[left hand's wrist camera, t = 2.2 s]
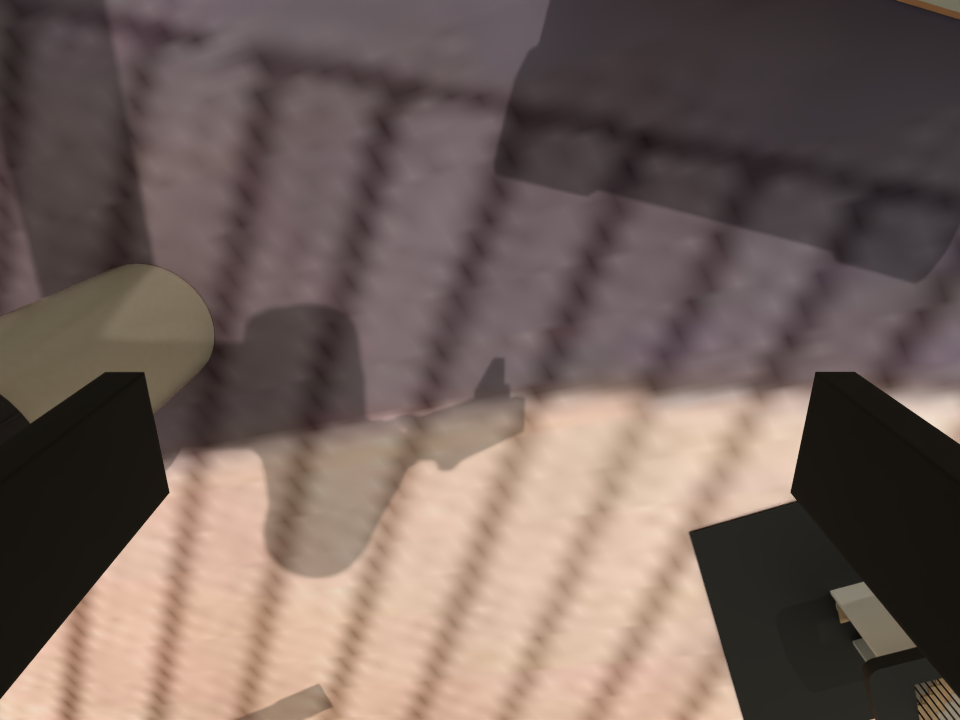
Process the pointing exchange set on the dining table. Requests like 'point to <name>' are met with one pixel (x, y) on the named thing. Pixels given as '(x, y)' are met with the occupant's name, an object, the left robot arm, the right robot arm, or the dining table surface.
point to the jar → (105, 338)
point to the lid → (10, 419)
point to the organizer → (938, 6)
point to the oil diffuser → (810, 628)
